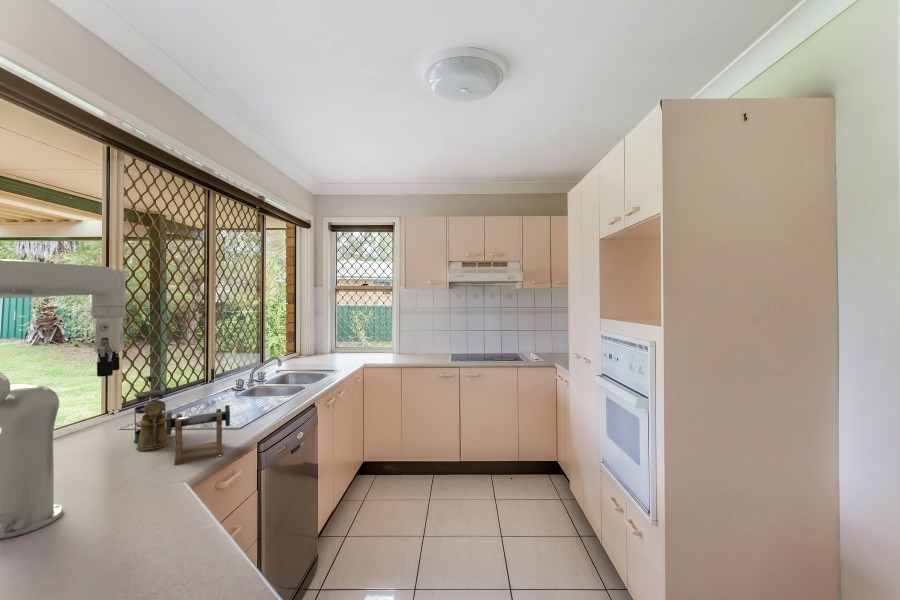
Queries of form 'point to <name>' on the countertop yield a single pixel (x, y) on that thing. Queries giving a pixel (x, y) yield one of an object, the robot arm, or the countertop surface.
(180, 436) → the hanging rack
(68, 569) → the countertop surface
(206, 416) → the hanging bar
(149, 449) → the brown carved statue
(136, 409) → the french press
